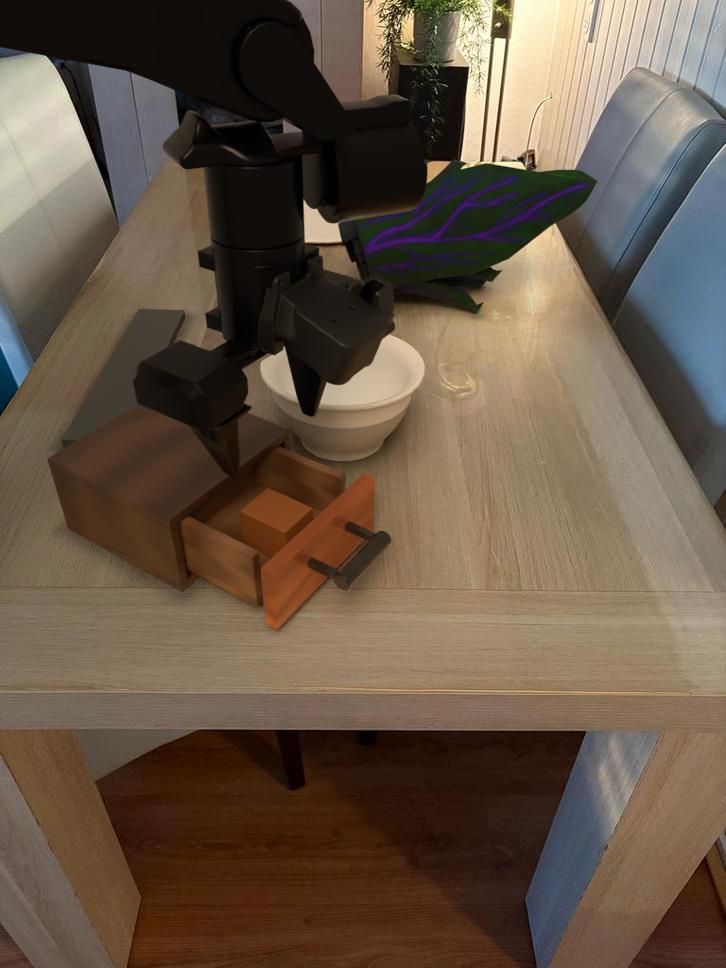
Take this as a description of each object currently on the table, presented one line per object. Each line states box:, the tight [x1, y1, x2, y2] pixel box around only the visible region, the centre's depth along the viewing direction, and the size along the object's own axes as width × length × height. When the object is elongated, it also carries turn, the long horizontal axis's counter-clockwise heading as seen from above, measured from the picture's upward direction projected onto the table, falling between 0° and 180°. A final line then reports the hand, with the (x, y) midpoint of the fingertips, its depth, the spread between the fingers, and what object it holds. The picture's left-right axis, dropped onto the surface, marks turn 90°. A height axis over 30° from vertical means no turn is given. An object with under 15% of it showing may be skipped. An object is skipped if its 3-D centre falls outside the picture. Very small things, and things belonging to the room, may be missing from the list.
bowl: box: [259, 334, 426, 462], centre depth 74 cm, size 16×16×8 cm
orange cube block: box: [240, 488, 313, 558], centre depth 60 cm, size 5×4×4 cm
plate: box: [304, 201, 342, 245], centre depth 129 cm, size 29×29×1 cm
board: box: [61, 308, 186, 448], centre depth 86 cm, size 30×6×1 cm, turn 179°
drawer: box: [178, 446, 392, 630], centre depth 60 cm, size 16×13×6 cm
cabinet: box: [46, 405, 292, 593], centre depth 65 cm, size 14×15×8 cm
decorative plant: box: [338, 158, 598, 314], centre depth 99 cm, size 21×26×30 cm
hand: (272, 442), depth 55 cm, fingers open, 9 cm apart
